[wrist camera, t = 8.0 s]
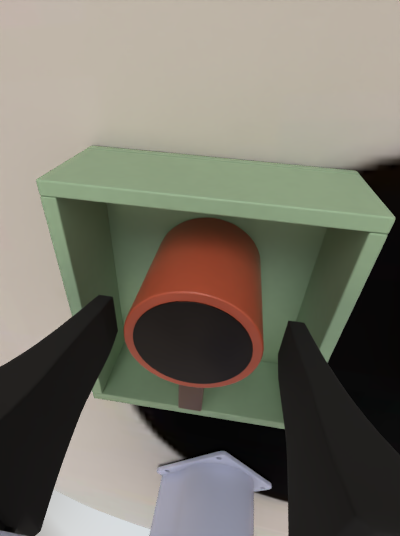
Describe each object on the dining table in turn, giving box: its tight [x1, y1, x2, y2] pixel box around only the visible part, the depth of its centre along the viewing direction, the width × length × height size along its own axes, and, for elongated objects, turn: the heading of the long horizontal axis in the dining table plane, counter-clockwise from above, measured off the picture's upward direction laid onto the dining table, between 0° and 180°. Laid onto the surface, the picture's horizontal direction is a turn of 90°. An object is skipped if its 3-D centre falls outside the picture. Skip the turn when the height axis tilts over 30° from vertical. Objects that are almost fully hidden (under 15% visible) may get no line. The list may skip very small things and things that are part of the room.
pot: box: [124, 218, 264, 411], centre depth 15 cm, size 8×5×6 cm, turn 177°
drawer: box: [36, 146, 395, 429], centre depth 16 cm, size 13×12×4 cm
